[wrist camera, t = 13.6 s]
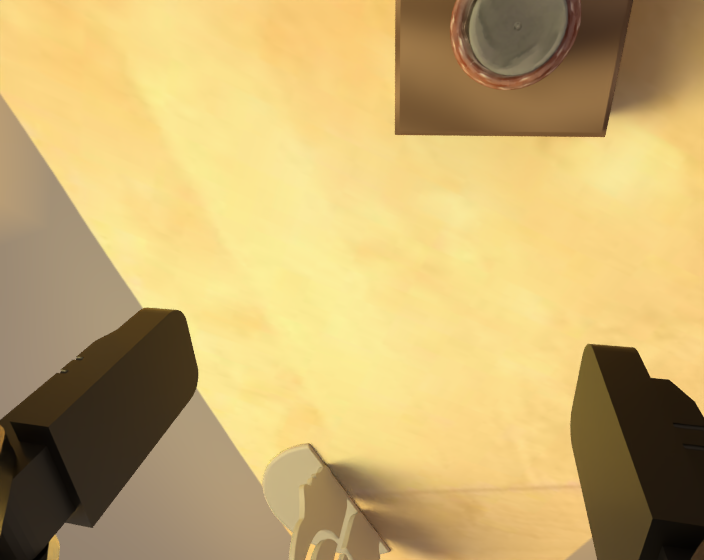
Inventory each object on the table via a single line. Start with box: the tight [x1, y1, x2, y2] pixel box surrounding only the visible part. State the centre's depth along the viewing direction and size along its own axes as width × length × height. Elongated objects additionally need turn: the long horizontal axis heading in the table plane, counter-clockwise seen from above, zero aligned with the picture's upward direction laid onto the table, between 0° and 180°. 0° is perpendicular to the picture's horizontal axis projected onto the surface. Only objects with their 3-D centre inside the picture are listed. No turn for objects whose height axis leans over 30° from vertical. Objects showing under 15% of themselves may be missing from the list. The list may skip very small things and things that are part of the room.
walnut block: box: [395, 0, 633, 137], centre depth 33 cm, size 14×14×7 cm
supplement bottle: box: [450, 0, 581, 90], centre depth 25 cm, size 6×6×11 cm
